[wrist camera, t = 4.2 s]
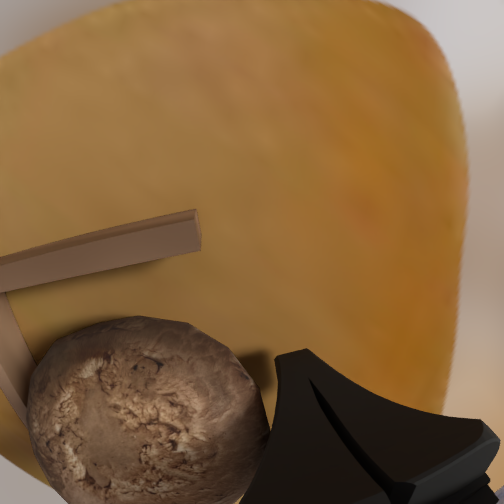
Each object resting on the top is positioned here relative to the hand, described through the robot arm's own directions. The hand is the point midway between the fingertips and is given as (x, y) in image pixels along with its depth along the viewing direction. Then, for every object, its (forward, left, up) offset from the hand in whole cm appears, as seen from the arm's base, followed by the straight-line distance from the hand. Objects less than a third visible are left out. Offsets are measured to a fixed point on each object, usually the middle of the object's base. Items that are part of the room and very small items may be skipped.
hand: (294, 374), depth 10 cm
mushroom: (0, +5, -1) cm, 5 cm away
